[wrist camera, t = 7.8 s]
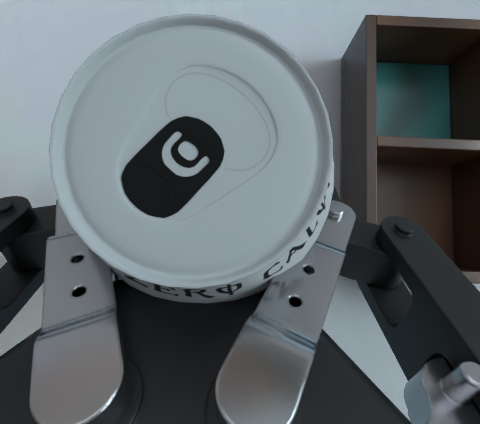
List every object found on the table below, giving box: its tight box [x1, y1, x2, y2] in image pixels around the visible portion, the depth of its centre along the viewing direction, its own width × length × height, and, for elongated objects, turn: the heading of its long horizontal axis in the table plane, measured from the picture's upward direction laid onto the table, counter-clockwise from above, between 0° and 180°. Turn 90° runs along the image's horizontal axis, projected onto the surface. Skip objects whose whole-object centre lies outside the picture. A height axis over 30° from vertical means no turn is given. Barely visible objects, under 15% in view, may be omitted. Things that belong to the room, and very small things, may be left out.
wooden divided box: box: [341, 15, 480, 284], centre depth 21 cm, size 9×17×5 cm, turn 177°
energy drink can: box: [49, 14, 334, 303], centre depth 12 cm, size 6×6×15 cm
